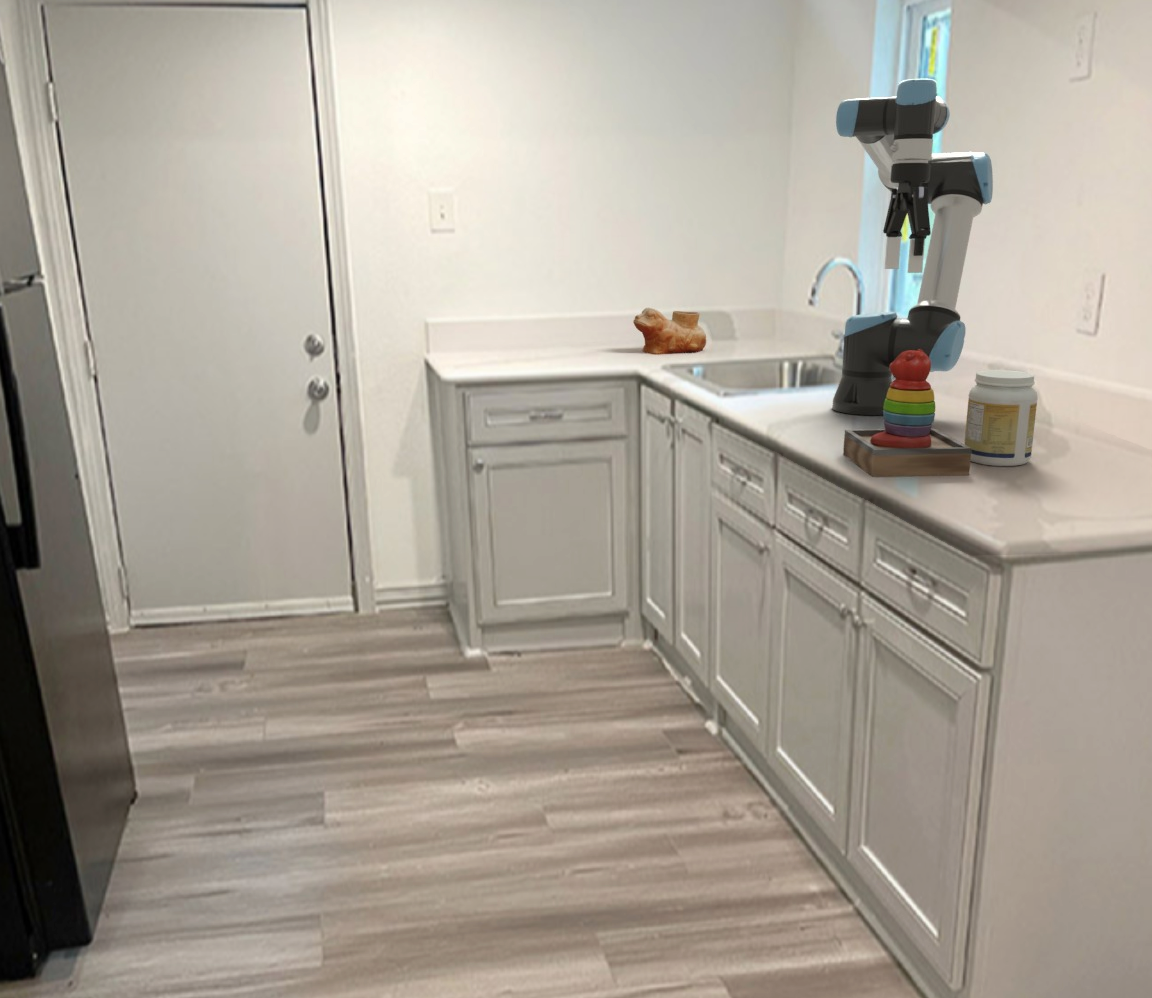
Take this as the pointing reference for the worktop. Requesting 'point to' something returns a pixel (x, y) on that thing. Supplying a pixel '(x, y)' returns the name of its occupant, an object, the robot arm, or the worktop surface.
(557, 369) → the worktop surface
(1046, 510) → the worktop surface
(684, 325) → the ceramic vessel
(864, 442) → the square tray
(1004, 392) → the supplement tub
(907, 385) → the stacking bear
